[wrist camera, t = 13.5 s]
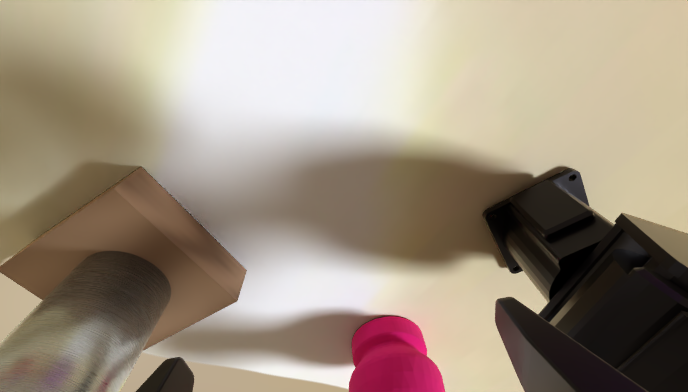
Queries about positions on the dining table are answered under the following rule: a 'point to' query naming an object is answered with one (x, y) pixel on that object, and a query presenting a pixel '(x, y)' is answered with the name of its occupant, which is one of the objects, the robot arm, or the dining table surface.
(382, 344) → the pepper mill
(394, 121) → the dining table surface
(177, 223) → the walnut box
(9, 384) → the tea tin
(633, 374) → the robot arm
